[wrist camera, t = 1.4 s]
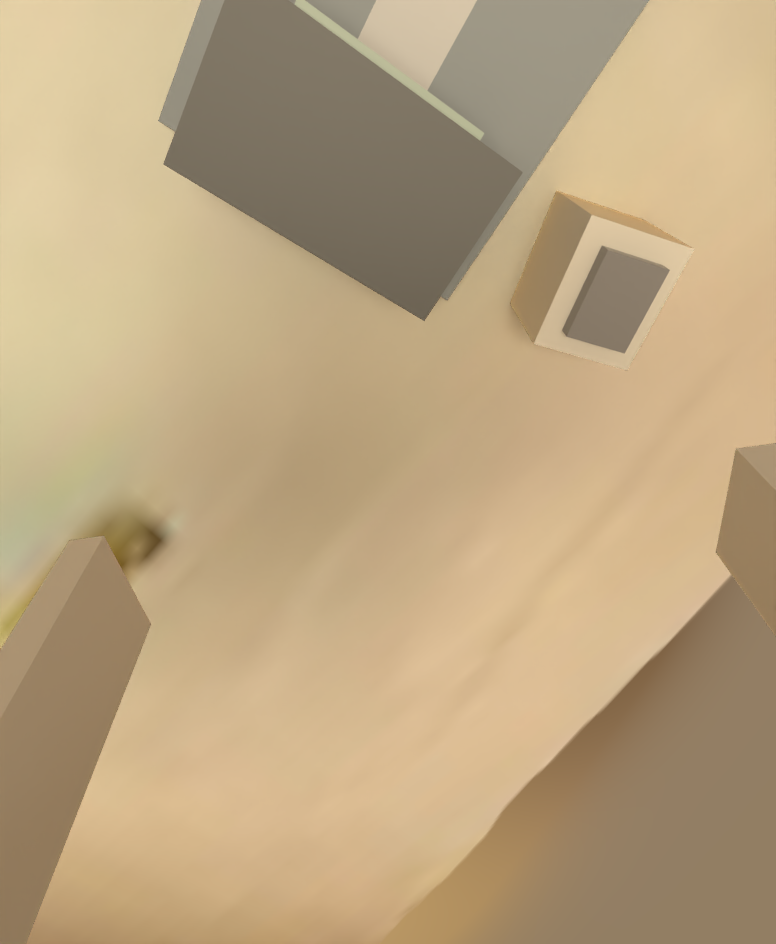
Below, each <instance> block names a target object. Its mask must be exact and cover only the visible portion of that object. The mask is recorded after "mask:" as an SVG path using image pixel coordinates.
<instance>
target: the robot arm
mask: <svg viewBox="0 0 776 944" xmlns="http://www.w3.org/2000/svg"><path fill="white" fill-rule="evenodd" d="M716 553H717V555H718V556H719V557H720V559H721V560H722V562H723V563H724V565H725V566H726V567H727V569H728V570H729V572H730V573H731V574H732V576H733V577H734V579H735V580H736V581H737V583H738V584H739V586H740V587H741V588H742V590H743V591H744V593H745V594H746V595H747V597H748V598H749V600H750V601H751V603H752V604H753V606H754V607H755V608H756V610H757V611H758V613H759V614H760V615H761V617H762V618H763V619H764V621H765V622H766V624H767V625H768V627H769V628H770V629H771V631H772V632H773V634H774V635H775V637H776V443H773V444H766V445H759V446H752V447H744V448H737V449H736V451H735V456H734V461H733V466H732V471H731V477H730V482H729V487H728V492H727V497H726V502H725V507H724V513H723V518H722V523H721V528H720V533H719V538H718V544H717V549H716ZM150 626H151V623H150V621H149V619H148V618H147V616H146V614H145V612H144V610H143V608H142V606H141V604H140V603H139V601H138V599H137V597H136V595H135V593H134V591H133V589H132V588H131V586H130V584H129V582H128V580H127V578H126V576H125V574H124V573H123V571H122V569H121V567H120V565H119V563H118V561H117V559H116V558H115V556H114V554H113V552H112V550H111V548H110V546H109V544H108V543H107V541H106V539H105V537H104V536H98V537H90V538H83V539H76V540H69V542H68V543H67V545H66V547H65V548H64V550H63V551H62V553H61V554H60V556H59V558H58V559H57V561H56V562H55V564H54V566H53V567H52V569H51V570H50V572H49V573H48V575H47V577H46V578H45V580H44V581H43V583H42V585H41V586H40V588H39V589H38V591H37V592H36V594H35V596H34V597H33V599H32V600H31V602H30V604H29V605H28V607H27V608H26V610H25V611H24V613H23V615H22V616H21V618H20V619H19V621H18V623H17V624H16V626H15V627H14V629H13V630H12V632H11V634H10V635H9V637H8V638H7V640H6V642H5V643H4V645H3V646H2V648H1V649H0V944H26V942H27V940H28V937H29V935H30V932H31V929H32V927H33V924H34V922H35V919H36V917H37V914H38V912H39V909H40V906H41V904H42V901H43V899H44V896H45V894H46V891H47V889H48V886H49V883H50V881H51V878H52V876H53V873H54V871H55V868H56V866H57V863H58V860H59V858H60V855H61V853H62V850H63V848H64V845H65V843H66V840H67V837H68V835H69V832H70V830H71V827H72V825H73V822H74V820H75V817H76V815H77V812H78V809H79V807H80V804H81V802H82V799H83V797H84V794H85V792H86V789H87V786H88V784H89V781H90V779H91V776H92V774H93V771H94V769H95V766H96V763H97V761H98V758H99V756H100V753H101V751H102V748H103V746H104V743H105V740H106V738H107V735H108V733H109V730H110V728H111V725H112V723H113V720H114V717H115V715H116V712H117V710H118V707H119V705H120V702H121V700H122V697H123V694H124V692H125V689H126V687H127V684H128V682H129V679H130V677H131V674H132V671H133V669H134V666H135V664H136V661H137V659H138V656H139V654H140V651H141V649H142V646H143V643H144V641H145V638H146V636H147V633H148V631H149V628H150Z"/></svg>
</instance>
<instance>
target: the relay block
mask: <svg viewBox="0 0 776 944" xmlns="http://www.w3.org/2000/svg"><path fill="white" fill-rule="evenodd" d="M694 250H695V249H694V248H692V247H690V246H688V245H687V244H685V243H683V242H681V241H680V240H678V239H676V238H674V237H673V236H671V235H669V234H668V233H666V232H664V231H662V230H661V229H659V228H657V227H655V226H654V225H652V224H650V223H648V222H647V221H645V220H642V219H640V218H637V217H634V216H631V215H628V214H625V213H622V212H619V211H616V210H613V209H610V208H607V207H604V206H601V205H598V204H595V203H592V202H589V201H586V200H583V199H580V198H577V197H574V196H571V195H568V194H565V193H562V192H560V191H556V193H555V196H554V198H553V200H552V203H551V205H550V208H549V210H548V212H547V215H546V217H545V220H544V222H543V225H542V227H541V229H540V232H539V234H538V237H537V239H536V242H535V244H534V246H533V249H532V251H531V254H530V256H529V258H528V261H527V263H526V266H525V268H524V271H523V273H522V275H521V278H520V280H519V283H518V285H517V288H516V290H515V292H514V295H513V297H512V300H511V302H510V304H511V306H512V308H513V309H514V311H515V313H516V314H517V316H518V318H519V320H520V321H521V323H522V325H523V327H524V328H525V330H526V332H527V334H528V335H529V337H530V339H531V341H532V342H533V344H535V345H539V346H542V347H545V348H549V349H552V350H556V351H559V352H563V353H566V354H570V355H573V356H577V357H580V358H584V359H587V360H591V361H594V362H598V363H601V364H605V365H608V366H612V367H615V368H619V369H622V370H626V371H627V370H628V369H629V367H630V365H631V363H632V361H633V360H634V358H635V356H636V354H637V352H638V351H639V349H640V347H641V345H642V343H643V342H644V340H645V338H646V336H647V334H648V333H649V331H650V329H651V327H652V325H653V324H654V322H655V320H656V318H657V316H658V315H659V313H660V311H661V309H662V307H663V305H664V304H665V302H666V300H667V298H668V296H669V295H670V293H671V291H672V289H673V287H674V286H675V284H676V282H677V280H678V278H679V277H680V275H681V273H682V271H683V269H684V268H685V266H686V264H687V262H688V260H689V259H690V257H691V255H692V253H693V251H694Z"/></svg>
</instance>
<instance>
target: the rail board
mask: <svg viewBox="0 0 776 944" xmlns="http://www.w3.org/2000/svg"><path fill="white" fill-rule="evenodd" d="M648 1H649V0H201V2H200V5H199V8H198V11H197V14H196V16H195V19H194V22H193V25H192V28H191V31H190V33H189V36H188V39H187V42H186V45H185V47H184V50H183V53H182V56H181V59H180V61H179V64H178V67H177V70H176V73H175V75H174V78H173V81H172V84H171V87H170V89H169V92H168V95H167V98H166V101H165V104H164V106H163V109H162V112H161V115H160V118H159V120H158V121H159V122H161V123H162V124H164V125H166V126H167V127H169V128H170V129H172V130H174V131H175V134H174V137H173V140H172V142H171V145H170V148H169V150H168V153H167V156H166V159H165V161H164V165H165V166H167V167H169V168H170V169H172V170H174V171H175V172H177V173H179V174H180V175H182V176H184V177H185V178H187V179H189V180H190V181H192V182H194V183H195V184H197V185H199V186H200V187H202V188H204V189H205V190H207V191H209V192H210V193H212V194H214V195H215V196H217V197H219V198H220V199H222V200H224V201H225V202H227V203H229V204H230V205H232V206H234V207H235V208H237V209H239V210H240V211H242V212H244V213H245V214H247V215H249V216H250V217H252V218H254V219H255V220H257V221H259V222H260V223H262V224H264V225H265V226H267V227H269V228H270V229H272V230H274V231H275V232H277V233H279V234H280V235H282V236H284V237H285V238H287V239H289V240H290V241H292V242H294V243H295V244H297V245H299V246H300V247H302V248H304V249H305V250H307V251H309V252H310V253H312V254H314V255H315V256H317V257H319V258H320V259H322V260H324V261H325V262H327V263H329V264H330V265H332V266H334V267H335V268H337V269H339V270H340V271H342V272H344V273H345V274H347V275H349V276H350V277H352V278H354V279H355V280H357V281H359V282H360V283H362V284H363V285H365V286H367V287H368V288H370V289H372V290H373V291H375V292H377V293H378V294H380V295H382V296H383V297H385V298H387V299H388V300H390V301H392V302H393V303H395V304H397V305H398V306H400V307H402V308H403V309H405V310H407V311H408V312H410V313H412V314H413V315H415V316H417V317H418V318H420V319H422V320H423V321H425V319H426V318H427V316H428V315H429V313H430V312H431V310H432V309H433V307H434V306H435V304H436V303H437V301H438V300H439V298H440V297H442V298H444V299H446V300H448V299H449V297H450V296H451V294H452V293H453V291H454V290H455V288H456V287H457V285H458V284H459V282H460V281H461V280H462V278H463V277H464V275H465V274H466V272H467V271H468V269H469V268H470V266H471V265H472V263H473V262H474V260H475V259H476V257H477V256H478V254H479V253H480V251H481V250H482V248H483V247H484V245H485V244H486V242H487V241H488V239H489V238H490V236H491V235H492V233H493V232H494V230H495V229H496V227H497V226H498V224H499V223H500V222H501V220H502V219H503V217H504V216H505V214H506V213H507V211H508V210H509V208H510V207H511V205H512V204H513V202H514V201H515V199H516V198H517V196H518V195H519V193H520V192H521V190H522V189H523V187H524V186H525V184H526V183H527V181H528V180H529V178H530V177H531V175H532V174H533V172H534V171H535V169H536V168H537V166H538V165H539V163H540V162H541V161H542V159H543V158H544V156H545V155H546V153H547V152H548V150H549V149H550V147H551V146H552V144H553V143H554V141H555V140H556V138H557V137H558V135H559V134H560V132H561V131H562V129H563V128H564V126H565V125H566V123H567V122H568V120H569V119H570V117H571V116H572V114H573V113H574V111H575V110H576V108H577V107H578V105H579V104H580V103H581V101H582V100H583V98H584V97H585V95H586V94H587V92H588V91H589V89H590V88H591V86H592V85H593V83H594V82H595V80H596V79H597V77H598V76H599V74H600V73H601V71H602V70H603V68H604V67H605V65H606V64H607V62H608V61H609V59H610V58H611V56H612V55H613V53H614V52H615V50H616V49H617V47H618V46H619V44H620V43H621V42H622V40H623V39H624V37H625V36H626V34H627V33H628V31H629V30H630V28H631V27H632V25H633V24H634V22H635V21H636V19H637V18H638V16H639V15H640V13H641V12H642V10H643V9H644V7H645V6H646V4H647V3H648Z"/></svg>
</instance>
